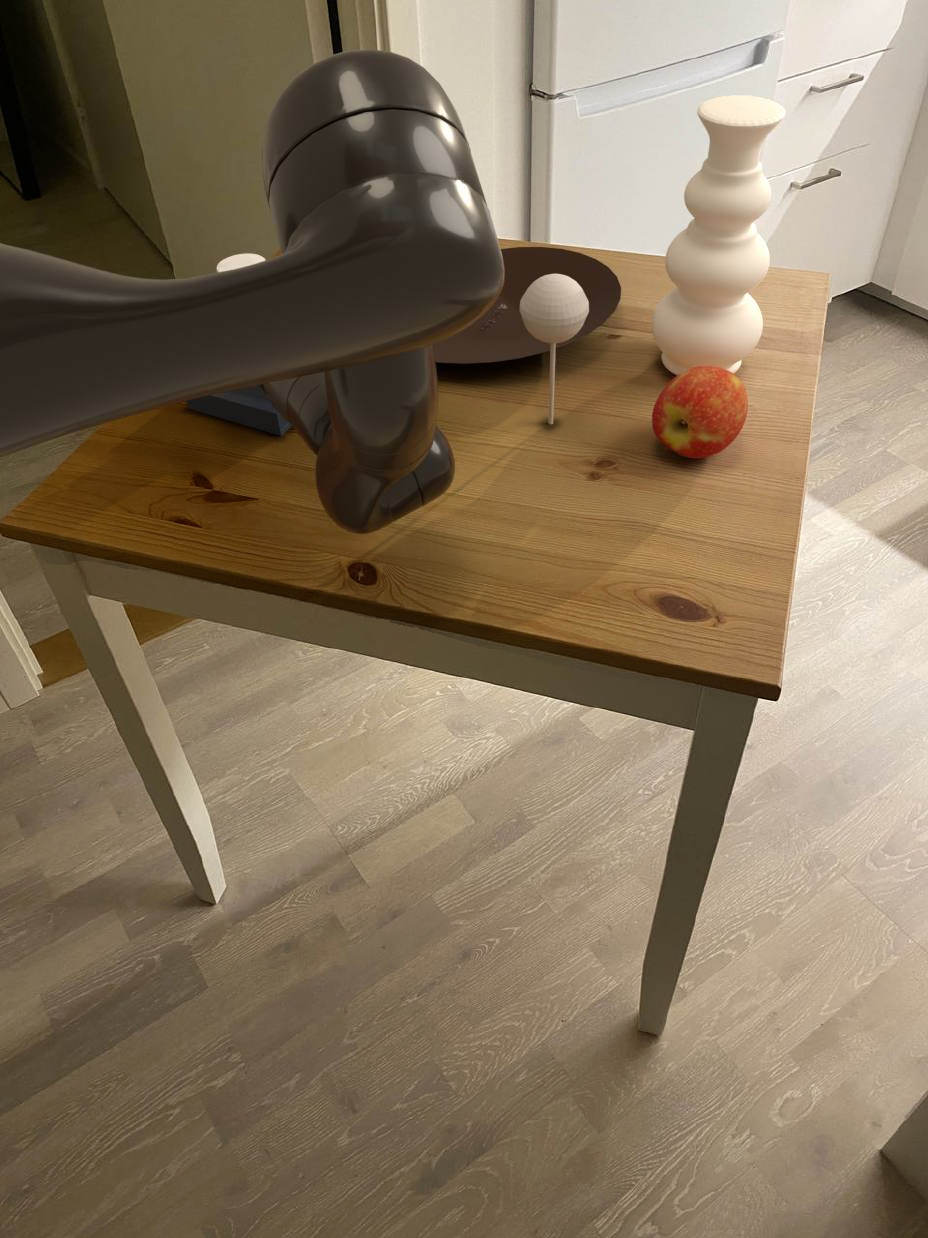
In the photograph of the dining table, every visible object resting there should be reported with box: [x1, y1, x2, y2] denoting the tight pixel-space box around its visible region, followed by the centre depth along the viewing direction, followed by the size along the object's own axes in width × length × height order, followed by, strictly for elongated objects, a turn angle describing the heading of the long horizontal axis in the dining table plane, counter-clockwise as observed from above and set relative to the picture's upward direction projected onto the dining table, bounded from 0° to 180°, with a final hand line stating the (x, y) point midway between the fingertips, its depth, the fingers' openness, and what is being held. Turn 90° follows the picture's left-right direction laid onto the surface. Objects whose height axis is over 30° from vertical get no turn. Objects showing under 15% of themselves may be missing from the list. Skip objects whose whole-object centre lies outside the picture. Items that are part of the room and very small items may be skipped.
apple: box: [651, 366, 749, 459], centre depth 86 cm, size 8×8×8 cm
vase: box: [651, 94, 786, 376], centre depth 89 cm, size 11×11×25 cm
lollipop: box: [520, 274, 589, 425], centre depth 87 cm, size 6×6×15 cm
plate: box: [433, 246, 622, 364], centre depth 105 cm, size 28×28×4 cm
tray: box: [186, 385, 293, 437], centre depth 97 cm, size 12×12×3 cm
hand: (243, 300), depth 93 cm, fingers closed on pill bottle, 6 cm apart
